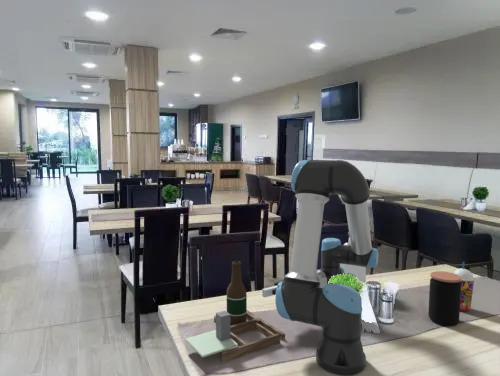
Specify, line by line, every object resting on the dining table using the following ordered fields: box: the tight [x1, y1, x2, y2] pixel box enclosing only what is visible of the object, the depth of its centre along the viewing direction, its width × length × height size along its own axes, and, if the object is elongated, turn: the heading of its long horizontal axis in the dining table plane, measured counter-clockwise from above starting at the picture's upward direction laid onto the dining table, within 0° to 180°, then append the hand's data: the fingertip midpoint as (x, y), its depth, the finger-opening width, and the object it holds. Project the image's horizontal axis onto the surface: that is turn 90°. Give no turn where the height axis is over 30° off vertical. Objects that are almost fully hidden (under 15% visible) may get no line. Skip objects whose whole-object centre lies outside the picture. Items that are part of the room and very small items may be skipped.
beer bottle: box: [226, 260, 248, 326], centre depth 144 cm, size 8×8×24 cm
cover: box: [184, 310, 239, 358], centre depth 123 cm, size 13×13×9 cm
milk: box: [340, 236, 367, 283], centre depth 178 cm, size 12×12×26 cm
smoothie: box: [453, 261, 475, 312], centre depth 158 cm, size 8×8×20 cm
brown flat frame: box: [213, 309, 286, 364], centre depth 136 cm, size 27×26×3 cm
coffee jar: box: [427, 270, 461, 327], centre depth 147 cm, size 11×11×18 cm
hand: (263, 293), depth 138 cm, fingers closed
